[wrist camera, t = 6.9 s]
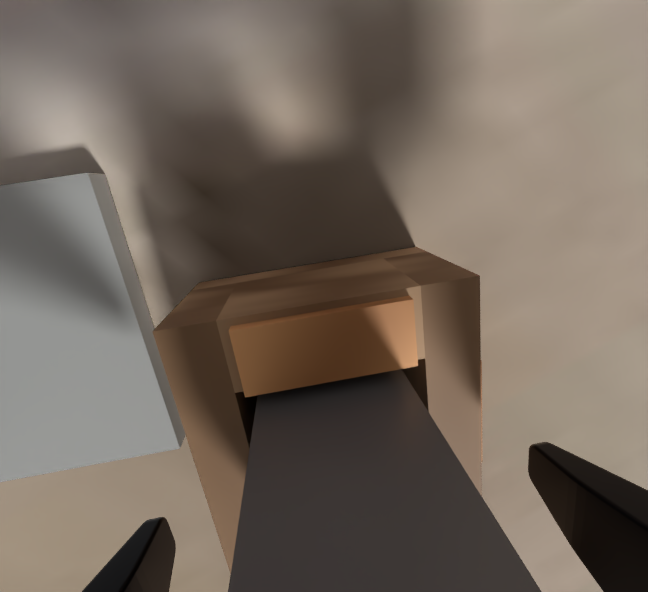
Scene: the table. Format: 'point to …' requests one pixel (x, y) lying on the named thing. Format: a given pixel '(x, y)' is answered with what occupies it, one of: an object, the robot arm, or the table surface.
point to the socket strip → (320, 353)
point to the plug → (363, 499)
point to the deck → (74, 335)
